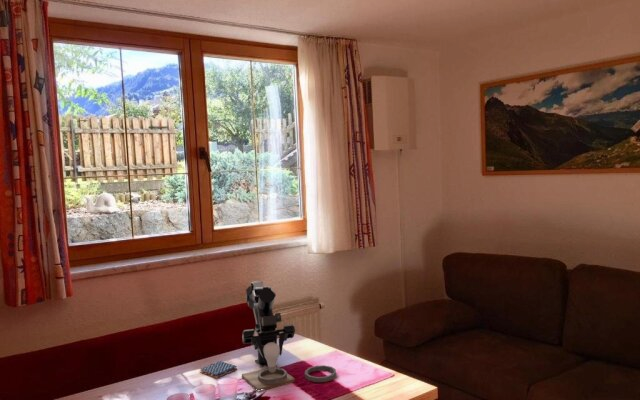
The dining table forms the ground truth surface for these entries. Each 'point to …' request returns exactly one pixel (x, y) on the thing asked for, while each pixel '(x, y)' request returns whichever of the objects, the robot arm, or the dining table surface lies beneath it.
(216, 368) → the woven mat
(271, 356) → the lightbulb
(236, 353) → the dining table surface
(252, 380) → the socket board
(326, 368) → the collar
